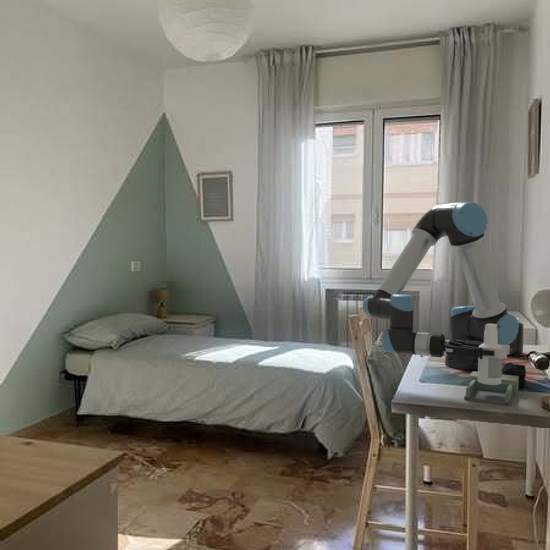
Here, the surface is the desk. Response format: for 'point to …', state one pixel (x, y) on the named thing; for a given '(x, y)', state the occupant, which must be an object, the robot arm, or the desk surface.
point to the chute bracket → (492, 390)
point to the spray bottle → (490, 358)
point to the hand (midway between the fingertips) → (507, 351)
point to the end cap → (516, 373)
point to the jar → (517, 342)
